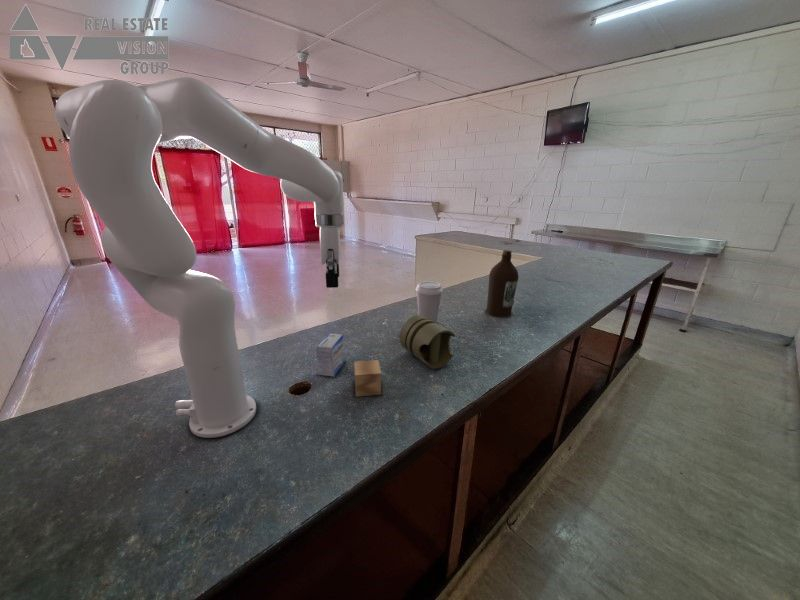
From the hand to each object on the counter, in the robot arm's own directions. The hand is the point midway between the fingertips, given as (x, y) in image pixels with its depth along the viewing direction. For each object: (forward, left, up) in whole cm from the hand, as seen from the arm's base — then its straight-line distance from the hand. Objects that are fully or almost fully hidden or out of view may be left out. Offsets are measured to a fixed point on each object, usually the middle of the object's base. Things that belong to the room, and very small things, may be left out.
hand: (333, 281), depth 90 cm
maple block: (+8, -22, -21) cm, 32 cm away
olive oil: (+63, +20, -21) cm, 69 cm away
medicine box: (-1, -12, -21) cm, 24 cm away
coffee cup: (+32, +13, -21) cm, 40 cm away
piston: (+26, -10, -21) cm, 35 cm away
